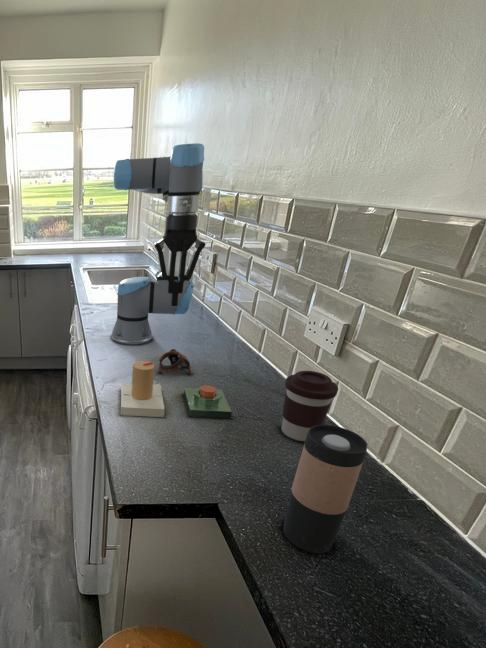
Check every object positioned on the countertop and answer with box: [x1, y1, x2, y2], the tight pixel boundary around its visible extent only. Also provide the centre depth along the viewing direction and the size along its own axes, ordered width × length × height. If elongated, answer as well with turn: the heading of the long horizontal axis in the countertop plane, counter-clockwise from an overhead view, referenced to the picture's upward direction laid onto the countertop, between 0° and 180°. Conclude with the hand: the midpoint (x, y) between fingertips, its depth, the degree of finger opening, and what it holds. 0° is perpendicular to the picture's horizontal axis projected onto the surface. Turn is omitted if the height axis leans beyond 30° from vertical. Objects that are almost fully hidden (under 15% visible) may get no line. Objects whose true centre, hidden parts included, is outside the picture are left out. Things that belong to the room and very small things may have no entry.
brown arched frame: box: [158, 348, 192, 376], centre depth 127 cm, size 12×10×8 cm
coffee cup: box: [280, 370, 339, 442], centre depth 92 cm, size 10×10×15 cm
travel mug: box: [282, 424, 368, 554], centre depth 64 cm, size 8×8×20 cm
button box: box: [183, 387, 232, 420], centre depth 107 cm, size 12×10×4 cm
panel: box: [120, 382, 166, 418], centre depth 110 cm, size 14×11×3 cm
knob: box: [131, 360, 155, 400], centre depth 108 cm, size 6×6×9 cm
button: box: [199, 384, 217, 397], centre depth 106 cm, size 4×4×2 cm
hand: (173, 304), depth 111 cm, fingers closed
